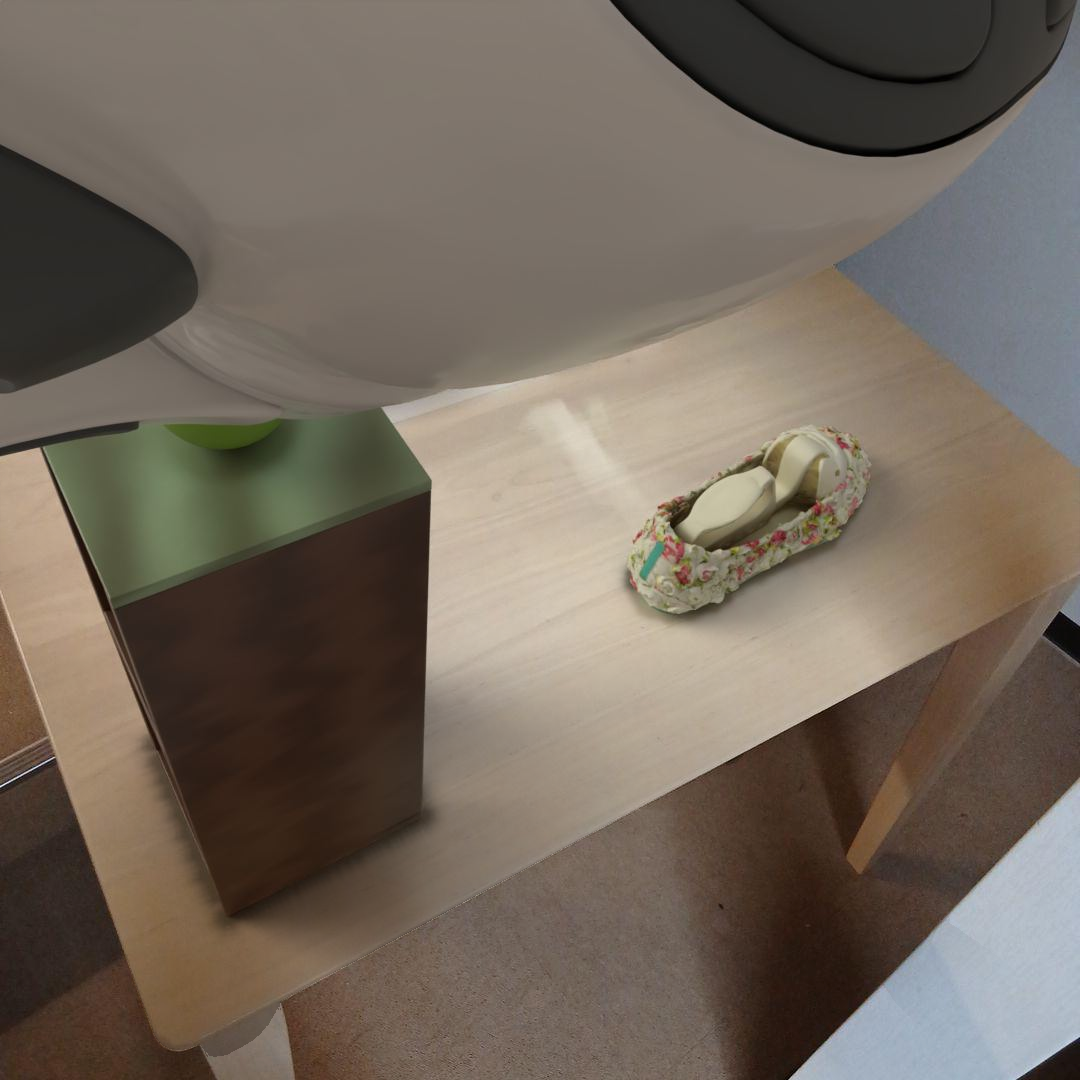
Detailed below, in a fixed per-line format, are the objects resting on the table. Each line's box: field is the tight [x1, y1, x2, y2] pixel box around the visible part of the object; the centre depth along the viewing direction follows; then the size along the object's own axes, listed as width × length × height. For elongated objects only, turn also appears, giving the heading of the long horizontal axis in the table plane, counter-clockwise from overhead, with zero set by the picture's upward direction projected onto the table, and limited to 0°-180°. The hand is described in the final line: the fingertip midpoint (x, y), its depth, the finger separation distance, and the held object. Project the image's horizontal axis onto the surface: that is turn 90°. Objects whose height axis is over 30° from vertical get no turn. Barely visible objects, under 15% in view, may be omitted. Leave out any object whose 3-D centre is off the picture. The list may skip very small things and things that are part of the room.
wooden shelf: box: [39, 407, 433, 917], centre depth 52 cm, size 12×12×30 cm
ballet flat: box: [625, 422, 873, 615], centre depth 77 cm, size 9×25×8 cm, turn 134°
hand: (211, 293), depth 33 cm, fingers open, 8 cm apart
